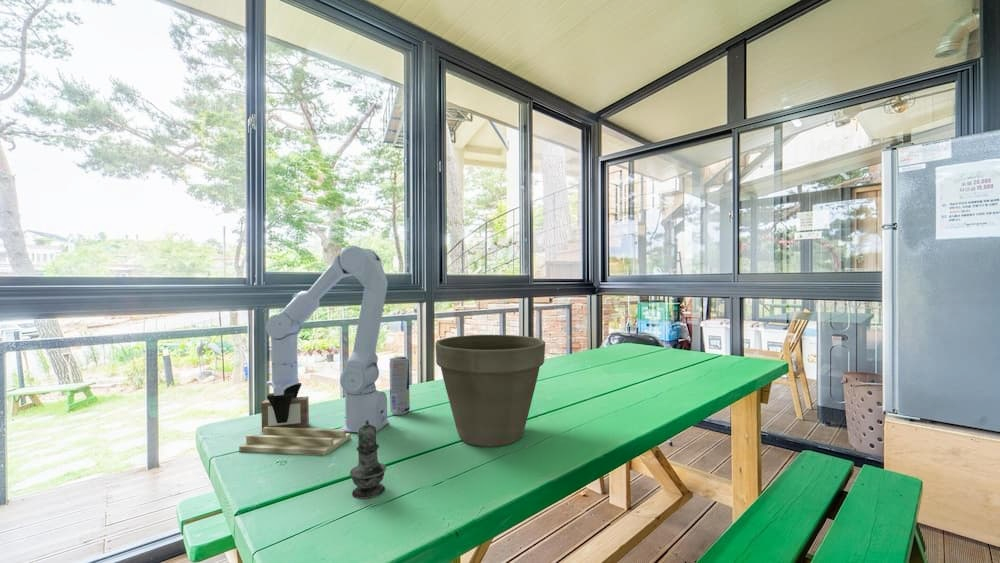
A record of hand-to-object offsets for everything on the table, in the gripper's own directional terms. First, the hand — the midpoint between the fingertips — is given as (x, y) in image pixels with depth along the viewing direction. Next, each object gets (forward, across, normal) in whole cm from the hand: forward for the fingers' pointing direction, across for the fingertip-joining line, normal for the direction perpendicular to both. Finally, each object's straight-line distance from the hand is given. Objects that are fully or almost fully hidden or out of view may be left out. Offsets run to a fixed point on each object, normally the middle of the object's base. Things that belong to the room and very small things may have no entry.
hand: (285, 417), depth 105 cm
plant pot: (+3, +22, +47) cm, 52 cm away
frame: (+2, 0, 0) cm, 2 cm away
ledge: (+2, +13, +5) cm, 14 cm away
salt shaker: (+3, +41, +21) cm, 46 cm away
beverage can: (+3, -2, +28) cm, 28 cm away
